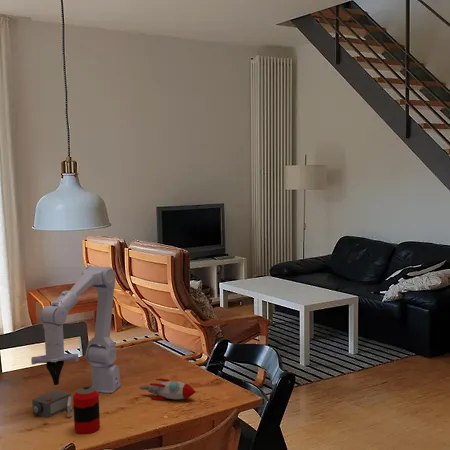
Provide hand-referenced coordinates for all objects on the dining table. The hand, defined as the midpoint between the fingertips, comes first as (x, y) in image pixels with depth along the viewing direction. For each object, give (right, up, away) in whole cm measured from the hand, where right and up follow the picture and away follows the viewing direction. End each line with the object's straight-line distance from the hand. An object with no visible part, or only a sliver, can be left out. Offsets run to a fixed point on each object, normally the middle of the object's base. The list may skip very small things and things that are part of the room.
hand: (56, 383), depth 201 cm
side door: (+5, -9, 0) cm, 10 cm away
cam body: (-2, -9, +3) cm, 10 cm away
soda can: (+13, -11, -12) cm, 20 cm away
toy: (+35, -8, +11) cm, 37 cm away
